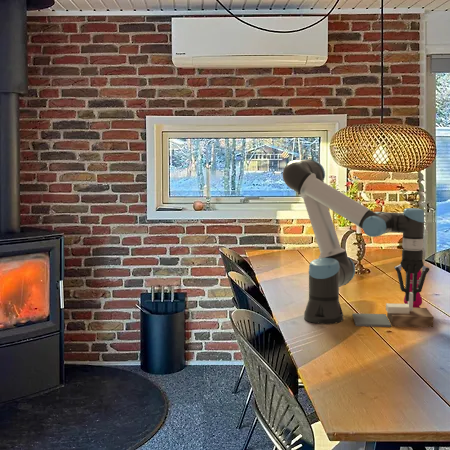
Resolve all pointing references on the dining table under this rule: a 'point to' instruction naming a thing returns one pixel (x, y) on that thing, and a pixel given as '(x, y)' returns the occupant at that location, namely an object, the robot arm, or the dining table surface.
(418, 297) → the pepper mill
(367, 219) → the robot arm
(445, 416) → the dining table surface
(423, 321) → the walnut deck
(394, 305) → the ceramic tile
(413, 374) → the dining table surface
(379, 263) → the dining table surface
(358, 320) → the charcoal mat
